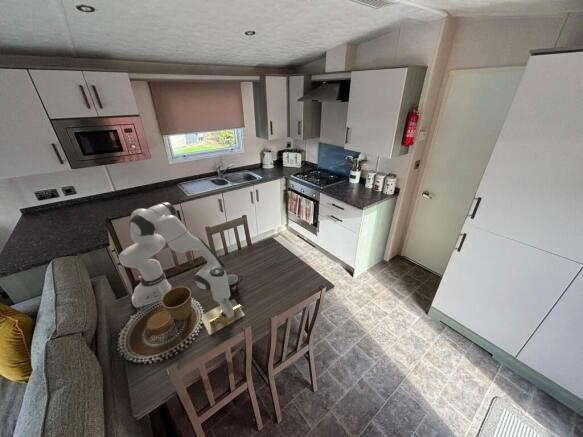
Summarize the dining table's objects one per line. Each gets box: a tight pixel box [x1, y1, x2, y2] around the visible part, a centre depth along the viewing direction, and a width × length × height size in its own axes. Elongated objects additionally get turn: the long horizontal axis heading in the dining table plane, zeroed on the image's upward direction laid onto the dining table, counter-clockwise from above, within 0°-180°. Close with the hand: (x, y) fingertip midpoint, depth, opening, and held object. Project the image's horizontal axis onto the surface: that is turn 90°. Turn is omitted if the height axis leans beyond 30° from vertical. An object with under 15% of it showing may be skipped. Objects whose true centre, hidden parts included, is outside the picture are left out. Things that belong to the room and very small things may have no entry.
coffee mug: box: [227, 274, 243, 295], centre depth 153 cm, size 12×9×10 cm
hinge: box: [209, 304, 243, 328], centre depth 134 cm, size 18×6×5 cm, turn 127°
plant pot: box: [161, 286, 192, 322], centre depth 134 cm, size 15×15×16 cm
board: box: [200, 298, 245, 335], centre depth 138 cm, size 21×15×1 cm
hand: (225, 311), depth 132 cm, fingers closed on pin, 3 cm apart
